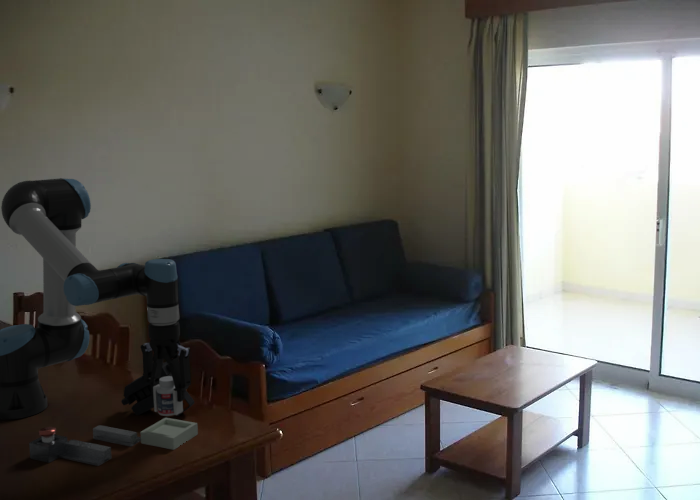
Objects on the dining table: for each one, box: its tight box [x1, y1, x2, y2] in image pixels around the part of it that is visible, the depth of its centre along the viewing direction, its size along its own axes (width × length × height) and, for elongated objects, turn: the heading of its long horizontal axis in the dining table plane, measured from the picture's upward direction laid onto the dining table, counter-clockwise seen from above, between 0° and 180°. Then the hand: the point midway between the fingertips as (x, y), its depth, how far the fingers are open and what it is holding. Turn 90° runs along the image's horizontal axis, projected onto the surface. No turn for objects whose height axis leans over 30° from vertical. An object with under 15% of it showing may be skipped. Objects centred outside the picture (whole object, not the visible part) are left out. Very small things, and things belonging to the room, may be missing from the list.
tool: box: [120, 361, 195, 417], centre depth 199 cm, size 6×19×15 cm, turn 79°
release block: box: [28, 433, 69, 464], centre depth 173 cm, size 6×6×4 cm
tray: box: [139, 417, 199, 451], centre depth 182 cm, size 10×10×3 cm
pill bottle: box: [157, 376, 175, 417], centre depth 181 cm, size 5×5×9 cm
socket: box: [58, 424, 141, 467], centre depth 177 cm, size 12×16×3 cm
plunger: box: [38, 426, 57, 444], centre depth 173 cm, size 4×4×6 cm
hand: (168, 411), depth 181 cm, fingers closed on pill bottle, 5 cm apart
